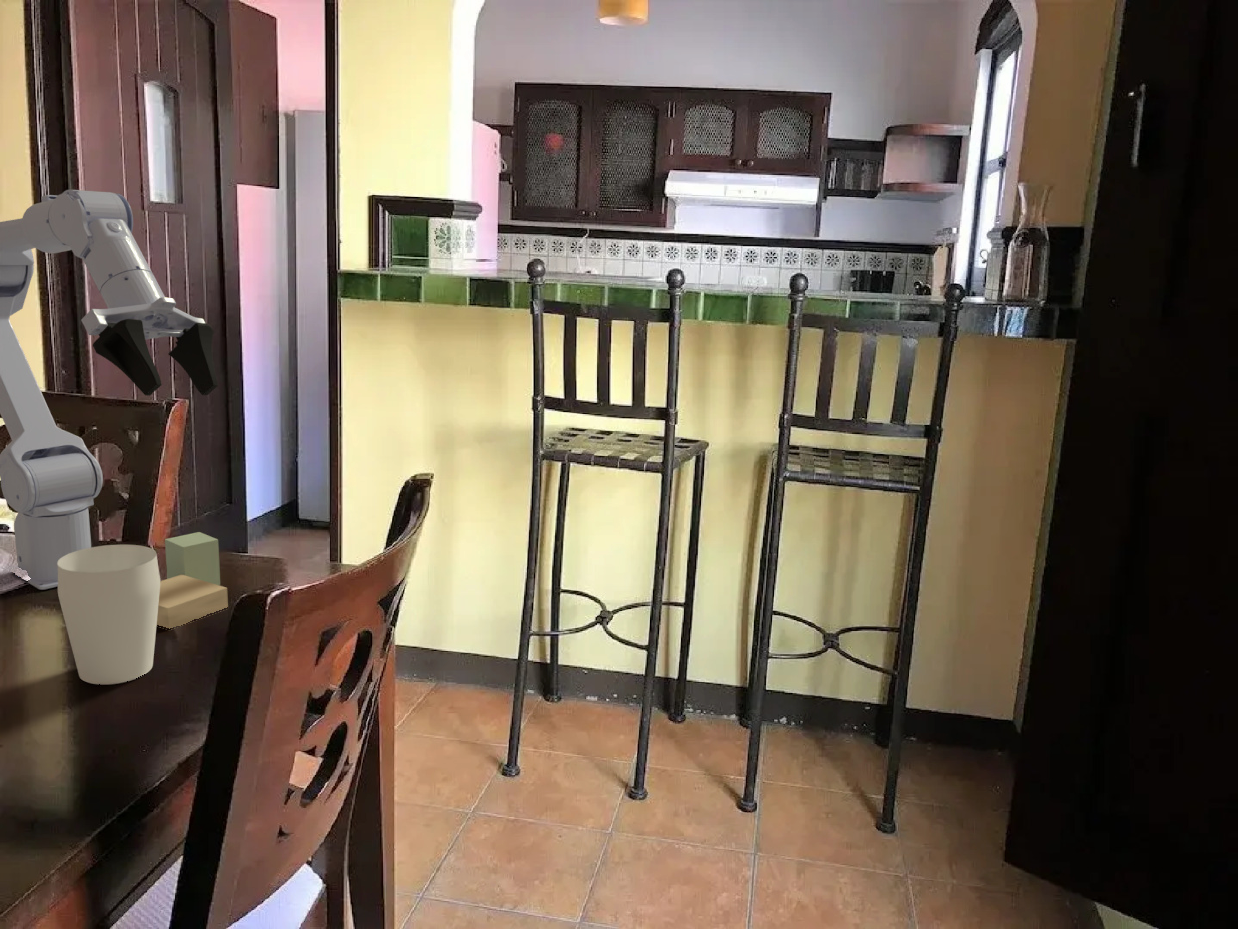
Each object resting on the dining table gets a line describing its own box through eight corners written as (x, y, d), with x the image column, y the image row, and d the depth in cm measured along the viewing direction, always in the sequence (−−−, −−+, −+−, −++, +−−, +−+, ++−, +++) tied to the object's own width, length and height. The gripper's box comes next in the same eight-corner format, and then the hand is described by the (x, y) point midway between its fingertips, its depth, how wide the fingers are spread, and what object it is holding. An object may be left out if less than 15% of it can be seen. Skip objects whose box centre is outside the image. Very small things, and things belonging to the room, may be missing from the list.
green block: (167, 585, 123) (164, 539, 122) (201, 576, 127) (199, 532, 126) (186, 593, 121) (183, 547, 119) (220, 585, 124) (218, 539, 123)
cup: (125, 696, 94) (116, 577, 91) (43, 684, 96) (32, 567, 93) (184, 659, 103) (178, 549, 100) (108, 648, 104) (100, 540, 102)
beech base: (123, 618, 113) (121, 593, 113) (182, 597, 120) (181, 574, 120) (169, 633, 110) (167, 608, 109) (228, 611, 117) (227, 587, 116)
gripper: (90, 254, 99) (149, 367, 97) (202, 271, 112) (256, 370, 110) (51, 296, 101) (107, 406, 99) (165, 307, 115) (216, 404, 113)
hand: (182, 390), depth 105 cm, fingers open, 7 cm apart
